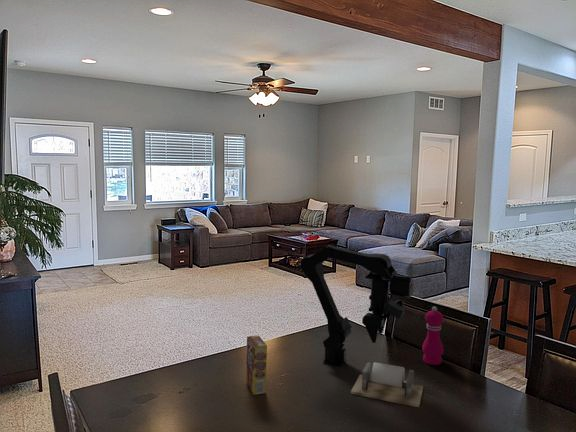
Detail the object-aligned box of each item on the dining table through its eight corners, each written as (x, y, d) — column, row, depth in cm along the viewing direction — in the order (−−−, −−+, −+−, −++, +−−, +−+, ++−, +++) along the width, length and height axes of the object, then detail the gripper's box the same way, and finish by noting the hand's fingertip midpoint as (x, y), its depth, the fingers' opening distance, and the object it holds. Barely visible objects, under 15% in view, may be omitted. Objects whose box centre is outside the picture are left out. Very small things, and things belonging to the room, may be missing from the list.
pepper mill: (440, 357, 163) (442, 303, 161) (445, 366, 156) (447, 310, 154) (419, 356, 164) (422, 303, 161) (423, 365, 156) (426, 309, 154)
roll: (371, 385, 137) (371, 366, 136) (375, 377, 142) (375, 359, 142) (401, 391, 133) (402, 372, 133) (404, 382, 139) (404, 364, 138)
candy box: (267, 393, 136) (267, 345, 134) (253, 395, 134) (253, 346, 133) (259, 380, 144) (259, 334, 143) (246, 382, 143) (245, 336, 141)
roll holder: (350, 393, 136) (351, 373, 136) (359, 376, 147) (360, 357, 147) (419, 407, 129) (419, 385, 128) (423, 388, 140) (424, 368, 139)
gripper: (398, 304, 137) (395, 352, 139) (409, 289, 154) (406, 333, 156) (362, 298, 142) (360, 346, 144) (377, 284, 159) (375, 327, 161)
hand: (377, 337), depth 151 cm, fingers open, 9 cm apart
